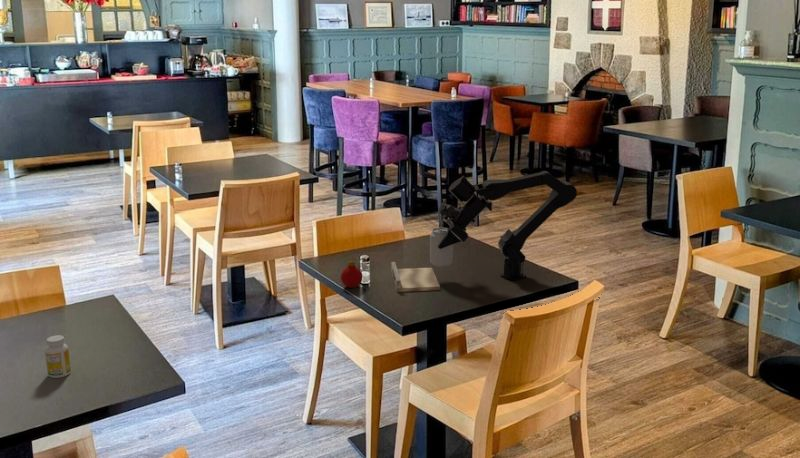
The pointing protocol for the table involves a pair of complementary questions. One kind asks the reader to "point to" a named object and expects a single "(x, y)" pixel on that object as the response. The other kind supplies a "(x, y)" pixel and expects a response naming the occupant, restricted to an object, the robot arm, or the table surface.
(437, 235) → the can
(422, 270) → the beige tray
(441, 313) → the table surface
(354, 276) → the christmas ornament
